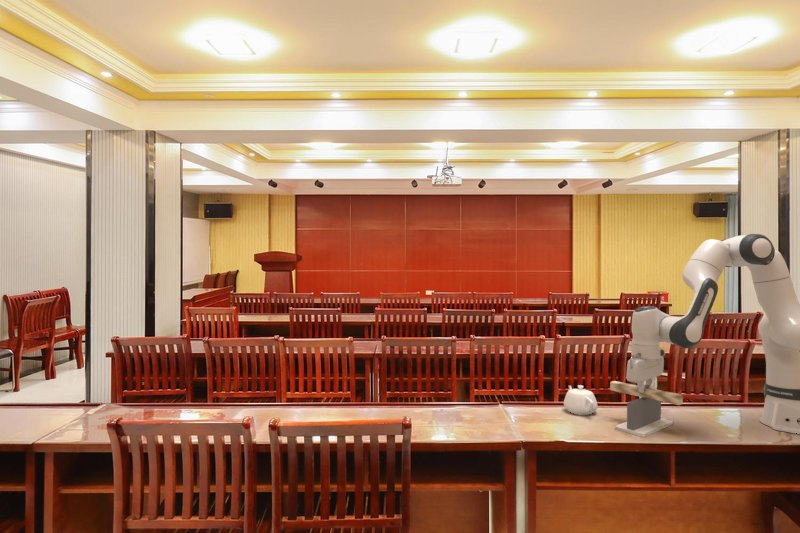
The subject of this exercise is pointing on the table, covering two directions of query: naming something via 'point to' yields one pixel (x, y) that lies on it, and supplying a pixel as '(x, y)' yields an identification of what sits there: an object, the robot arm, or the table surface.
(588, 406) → the teapot
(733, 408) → the table surface
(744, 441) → the table surface
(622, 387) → the birch bar
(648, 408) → the stand
